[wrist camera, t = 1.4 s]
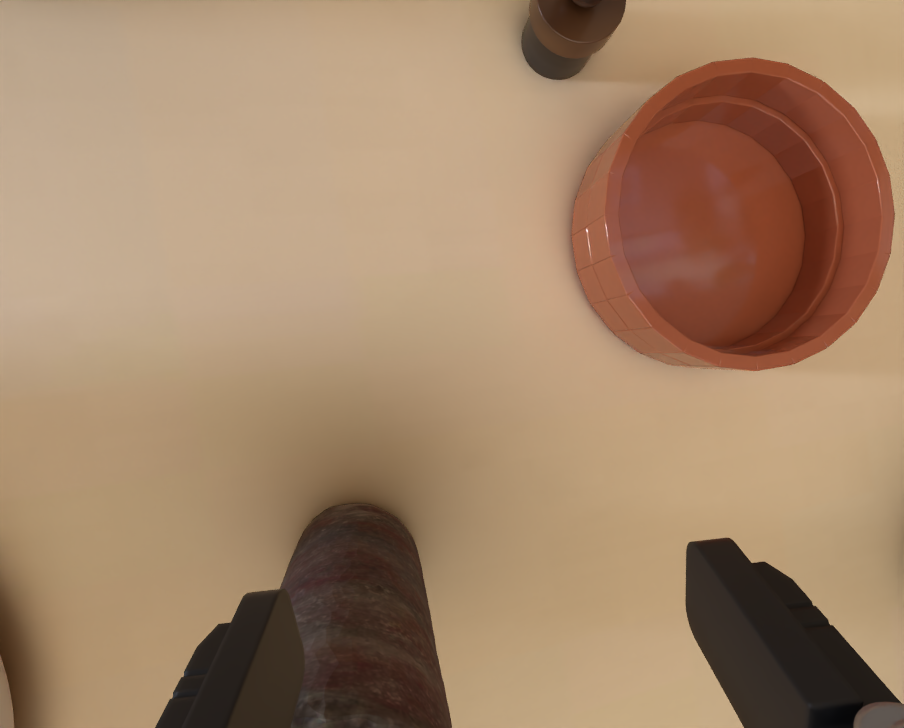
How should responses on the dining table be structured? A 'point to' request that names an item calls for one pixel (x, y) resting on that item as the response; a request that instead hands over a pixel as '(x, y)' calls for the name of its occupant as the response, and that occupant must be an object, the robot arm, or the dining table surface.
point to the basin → (735, 219)
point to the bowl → (5, 700)
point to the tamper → (568, 33)
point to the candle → (364, 625)
